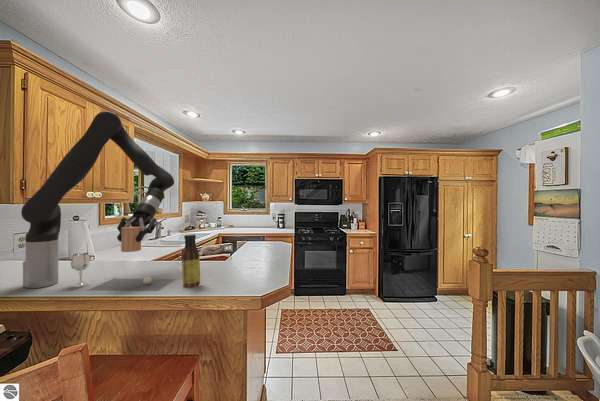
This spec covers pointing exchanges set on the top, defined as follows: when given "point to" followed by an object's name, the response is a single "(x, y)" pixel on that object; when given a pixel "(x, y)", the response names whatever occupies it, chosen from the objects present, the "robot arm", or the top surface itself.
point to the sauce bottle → (190, 262)
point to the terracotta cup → (130, 239)
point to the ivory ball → (147, 280)
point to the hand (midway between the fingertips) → (128, 240)
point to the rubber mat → (133, 285)
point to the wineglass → (80, 265)
